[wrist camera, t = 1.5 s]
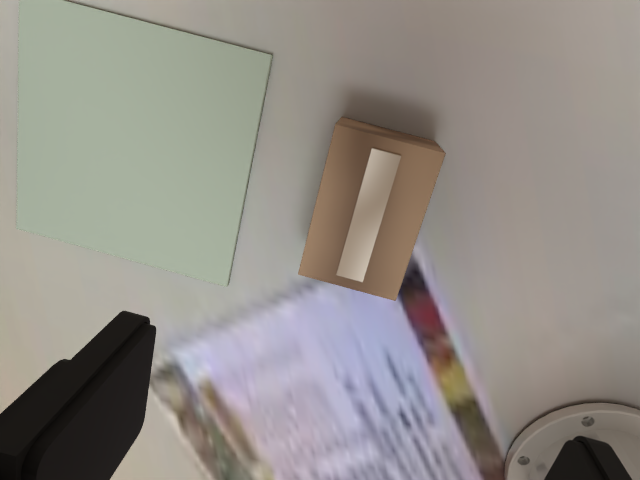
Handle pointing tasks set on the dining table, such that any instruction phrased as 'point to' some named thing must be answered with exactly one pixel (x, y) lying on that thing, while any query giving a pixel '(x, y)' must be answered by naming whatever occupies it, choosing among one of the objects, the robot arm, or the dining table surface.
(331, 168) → the cardboard box
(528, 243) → the dining table surface
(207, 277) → the mat
